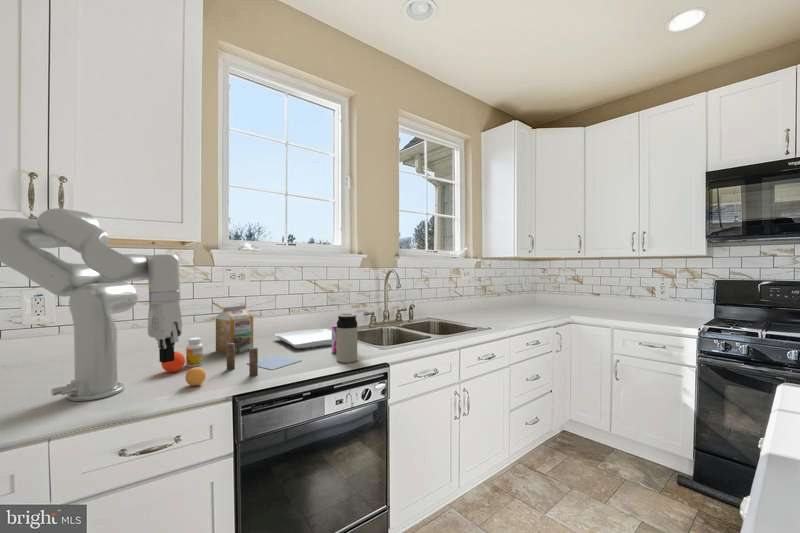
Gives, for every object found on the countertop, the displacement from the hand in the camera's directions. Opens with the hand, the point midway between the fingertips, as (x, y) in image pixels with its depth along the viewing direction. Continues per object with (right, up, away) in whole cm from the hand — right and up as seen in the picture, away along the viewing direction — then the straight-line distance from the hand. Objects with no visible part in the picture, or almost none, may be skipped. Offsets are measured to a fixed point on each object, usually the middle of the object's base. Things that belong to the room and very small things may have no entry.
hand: (167, 361), depth 105 cm
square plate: (+25, -9, +69) cm, 74 cm away
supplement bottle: (-9, -9, +30) cm, 32 cm away
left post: (+7, -9, +25) cm, 27 cm away
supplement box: (+42, -9, +49) cm, 65 cm away
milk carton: (-4, -9, +51) cm, 52 cm away
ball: (+4, -7, +8) cm, 11 cm away
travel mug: (+46, -10, +37) cm, 60 cm away
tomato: (-12, -9, +21) cm, 26 cm away
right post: (+18, -9, +18) cm, 27 cm away
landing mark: (+19, -9, +33) cm, 40 cm away
